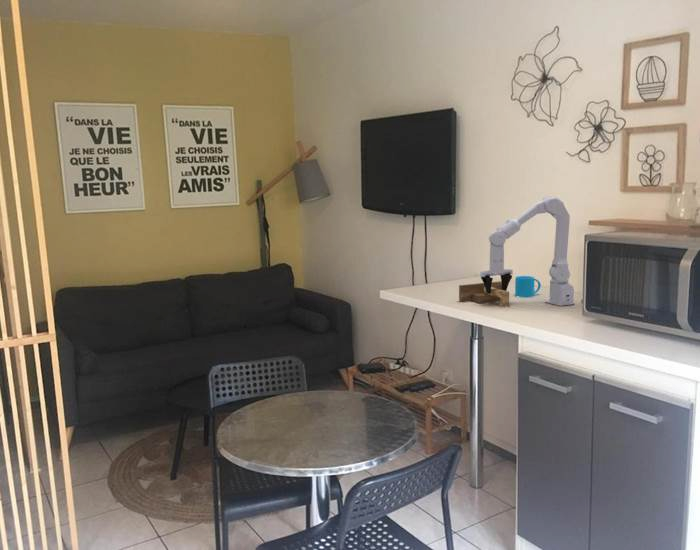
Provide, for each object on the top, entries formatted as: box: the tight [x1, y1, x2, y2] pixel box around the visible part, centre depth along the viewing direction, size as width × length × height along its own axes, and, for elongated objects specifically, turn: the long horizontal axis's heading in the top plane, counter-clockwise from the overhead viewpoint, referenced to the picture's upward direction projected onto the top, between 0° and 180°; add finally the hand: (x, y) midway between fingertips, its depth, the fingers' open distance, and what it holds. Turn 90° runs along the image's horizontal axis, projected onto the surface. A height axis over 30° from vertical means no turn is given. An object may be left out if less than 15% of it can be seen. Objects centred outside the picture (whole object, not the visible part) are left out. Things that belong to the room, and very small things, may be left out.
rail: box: [484, 287, 510, 308], centre depth 264 cm, size 14×3×6 cm, turn 21°
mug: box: [514, 275, 542, 298], centre depth 280 cm, size 12×8×8 cm
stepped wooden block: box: [458, 280, 502, 304], centre depth 270 cm, size 8×22×7 cm, turn 112°
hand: (496, 292), depth 263 cm, fingers open, 7 cm apart
